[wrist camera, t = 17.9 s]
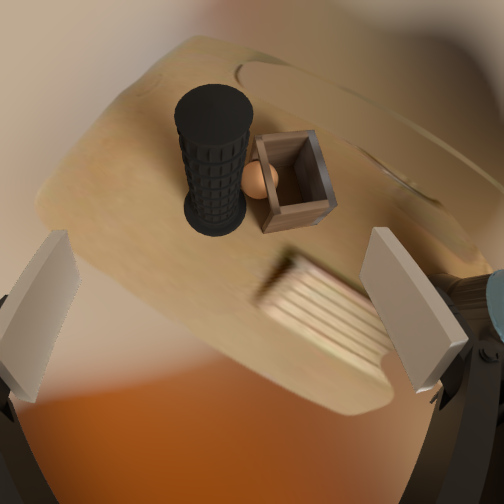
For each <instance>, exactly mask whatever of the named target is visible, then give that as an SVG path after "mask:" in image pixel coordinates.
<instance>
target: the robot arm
mask: <svg viewBox="0 0 504 504" xmlns="http://www.w3.org/2000/svg"><path fill="white" fill-rule="evenodd" d="M359 278H360V280H361V282H362V284H363V286H364V287H365V289H366V291H367V293H368V295H369V297H370V299H371V301H372V303H373V305H374V307H375V309H376V310H377V312H378V314H379V316H380V318H381V320H382V322H383V324H384V326H385V328H386V330H387V332H388V334H389V336H390V339H391V341H392V343H393V345H394V347H395V349H396V351H397V353H398V355H399V357H400V359H401V361H402V364H403V366H404V368H405V370H406V372H407V375H408V377H409V379H410V381H411V384H412V386H413V388H414V390H415V393H418V392H422V391H426V390H429V389H432V388H433V387H434V385H435V384H436V383H437V382H438V380H439V379H440V380H441V382H442V384H443V386H442V387H441V388H440V390H439V391H438V392H437V393H436V394H435V395H434V397H433V398H432V400H431V401H430V403H431V404H432V403H433V402H434V401H435V400H436V399H437V401H436V404H435V408H434V411H433V415H432V418H431V422H430V425H429V428H428V431H427V434H426V437H425V440H424V443H423V446H422V449H421V451H420V454H419V457H418V459H417V462H416V464H415V467H414V469H413V472H412V474H411V477H410V479H409V481H408V484H407V486H406V488H405V491H404V493H403V495H402V497H401V500H400V502H399V504H504V270H503V269H502V270H498V271H495V272H494V273H491V274H486V275H480V276H475V277H469V278H464V279H462V278H458V277H455V276H452V275H449V274H444V273H439V274H434V275H429V276H427V277H426V275H425V274H424V273H423V271H422V270H421V269H420V267H419V266H418V265H417V263H416V262H415V261H414V260H413V258H412V257H411V256H410V254H409V253H408V252H407V250H406V249H405V248H404V247H403V245H402V244H401V243H400V242H399V240H398V239H397V238H396V237H395V235H394V234H393V233H392V232H391V231H390V229H389V228H388V227H373V229H372V233H371V236H370V240H369V244H368V247H367V251H366V254H365V258H364V261H363V265H362V268H361V271H360V275H359ZM81 281H82V280H81V277H80V274H79V271H78V268H77V265H76V261H75V258H74V255H73V251H72V248H71V244H70V241H69V237H68V233H67V230H53V231H51V233H50V234H49V236H48V237H47V238H46V240H45V241H44V242H43V244H42V245H41V246H40V248H39V249H38V251H37V252H36V254H35V255H34V257H33V258H32V259H31V261H30V262H29V264H28V265H27V267H26V268H25V270H24V271H23V273H22V274H21V276H20V277H19V279H18V281H17V282H16V284H15V286H14V287H13V289H12V290H11V292H10V294H9V295H5V296H4V297H3V298H2V299H0V504H59V502H58V501H57V499H56V497H55V495H54V494H53V492H52V490H51V488H50V487H49V485H48V483H47V481H46V479H45V477H44V475H43V473H42V472H41V470H40V468H39V466H38V463H37V461H36V459H35V457H34V455H33V453H32V451H31V449H30V446H29V444H28V442H27V440H26V437H25V435H24V433H23V430H22V427H21V425H20V422H19V420H18V417H17V415H16V412H15V409H14V407H13V404H12V402H11V400H10V398H9V397H8V396H9V393H10V391H12V392H13V393H14V394H15V396H16V397H17V398H18V399H20V400H24V401H28V402H32V403H35V400H36V397H37V394H38V391H39V387H40V384H41V381H42V378H43V375H44V372H45V369H46V366H47V364H48V361H49V358H50V355H51V353H52V350H53V347H54V344H55V342H56V339H57V337H58V334H59V332H60V329H61V327H62V324H63V322H64V319H65V317H66V315H67V312H68V310H69V308H70V305H71V303H72V301H73V299H74V296H75V294H76V292H77V290H78V288H79V285H80V283H81Z"/></svg>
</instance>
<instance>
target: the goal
mask: <svg viewBox="0 0 504 504" xmlns="http://www.w3.org/2000/svg"><path fill="white" fill-rule="evenodd" d="M253 161H259V162H260V166H261V171H262V175H263V179H264V183H265V187H266V191H267V196H268V200H269V204H270V208H271V211H270V213H269V215H268V217H267V219H266V221H265V223H264V225H263V227H262V230H263V234H266V233H272V232H277V231H283V230H289V229H294V228H300V227H306V226H312V225H317V224H318V223H319V222H320V221H321V220H322V219H323V218H324V217H325V216H326V215H327V214H329V213H330V212H331V211H332V210H333V209H334V208H335V207H336V206H337V202H336V198H335V195H334V191H333V188H332V184H331V181H330V178H329V174H328V171H327V168H326V165H325V161H324V158H323V155H322V152H321V149H320V146H319V143H318V140H317V137H316V134H315V131H314V130H306V131H293V132H282V133H272V134H263V135H255V136H254V140H253V145H252V150H251V154H250V159H249V163H251V162H253ZM269 164H271V165H272V166H273V167H274V168H276V167H284V166H292V165H294V169H295V172H296V176H297V180H298V183H299V187H300V191H301V194H302V198H303V202H304V203H301V204H294V205H288V206H281V207H280V206H279V202H278V198H277V194H276V190H275V186H274V182H273V178H272V174H271V170H270V166H269Z"/></svg>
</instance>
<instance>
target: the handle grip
mask: <svg viewBox="0 0 504 504" xmlns="http://www.w3.org/2000/svg"><path fill="white" fill-rule="evenodd" d="M174 118H175V124H176V126H177V132H178V134H179V143H180V148H181V150H182V158H183V162H184V164H185V172H186V175H187V181H188V185H189V190H190V191H189V192H188V194H187V196H186V198H185V203H184V213H185V216H186V219H187V221H188V222H189V224H190V225H191V227H192V228H194V229H195V230H196V231H197V232H199V233H201V234H204V235H207V236H212V237H215V236H223V235H226V234H229V233H231V232H232V231H234V230H235V229H236V228H237V227H238V226H239V225H240V224H241V223H242V221H243V219H244V217H245V214H246V200H245V196H244V194H243V192H242V191H241V189H240V184H241V180H242V173H243V169H244V161H245V157H246V151H247V149H246V148H247V146H248V141H249V136H250V131H249V128H250V125H251V123H252V120H253V108H252V105H251V103H250V101H249V99H248V98H247V97H246V96H245V95H244V94H243V93H242V92H240V91H239V90H237V89H236V88H233V87H230V86H228V85H222V84H207V85H203V86H199V87H197V88H195V89H192V90H190V91H189V92H188V93H186V94H185V95H184V96H183V97H182V98H181V99H180V101H179V102H178V104H177V106H176V108H175V114H174Z"/></svg>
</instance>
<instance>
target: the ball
mask: <svg viewBox="0 0 504 504" xmlns="http://www.w3.org/2000/svg"><path fill="white" fill-rule="evenodd" d="M269 166H270V170H271V174H272V178H273V182H274V186H275V190H276V188H277V185H278V174H277V172H276V170H275V168H274V167H273V166H272V165H271V164H269ZM240 185H241V188H242V190H243V191H244V192H245V193H246V194H247V195H248V196H250V197H252V198H256V199H262V198H266V197H268V196H267V191H266V187H265V183H264V179H263V175H262V171H261V166H260V162H259V161H253V162H251V163H249V164H247V165H246V166H245V167H244V169H243V173H242V180H241V184H240Z"/></svg>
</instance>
